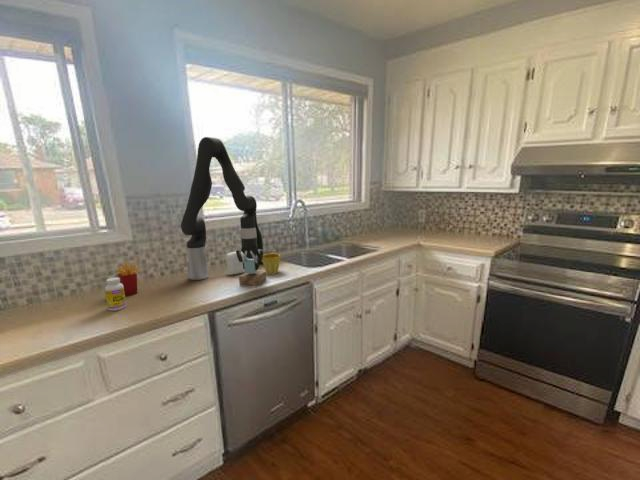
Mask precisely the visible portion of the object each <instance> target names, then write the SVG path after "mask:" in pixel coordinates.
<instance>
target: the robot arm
mask: <svg viewBox="0 0 640 480" xmlns="http://www.w3.org/2000/svg"><path fill="white" fill-rule="evenodd" d="M196 156H197V157H196V164H195V168H194V169H195V170H194V173H193V179H192V183H191V187H190V191H189V197H188V200H187V204H186V208H185V210H184V214H183V216H182V219H181V223H180V228H181V229H180V230H181V232H182V233H183V235H185V236H191V237H190V238H189V240H188V241H186V251H187V258H188V260H187V261H186V266H187V275H188V279H189V280H193V281H199V280H205V279H207V278H209V269H208V260H207V251H206V241H207V232H206V231H207V230H206V229H207V227H206V223H205V222H206V221H205V220H204V218H203V217H202V216H199V212H200V211H201V209H202V208H203V206H204V205H205V203H207V201H208V199H209V197H210V195H211V191H212V187H213V186H212V185H213V181H212V176H211V173H210V166H211V163H212V159H213V158H215V160H216V161H217V162H218V163H219V165H220V167H221V170H222V171H221V172H222V177H223V180H224V182H225V185H226V186H227V188H228V190H229V191H230V192H231V196H232V198H233V202H234V204H235V206H236V208H237V209H238V210H240V211H241V212H243V215H242V216H241V217H240V220H239V221H240V239H241V241H240V242H241V248H240V249H237V250H236V251H235V252H236V254H237V257H238V260H239V262H242V263H243V269H244V270H245V268H244V261H245V260H247V257H253V259H254V261H255V270H257V271H259V270H258V269H259V268H260V264H259V262H261V261H262V258H263V252H264V253H265V250H263V249H262V250H260V249H258V247H257V234H256V228H255V215H256V216H257V207H258V206H257V200H256V198H255V197H254V196H253V195H246V194H245V192H244V191H245V189H246V187H245V185H244V183H243V181H242V180H241V178H240V176H239V174H238V173H237V171H236V170H235V167H234V165H233V163H232V161H231V158H230V156H229V154H228V151H227V148H226V146H225V144H224V142H223V141H222V140H221V139H220V138H217V137H210V136H205V137H202V138H201V139H200V141H199V143H198V148H197V154H196ZM241 252H242V253H243V254H244V257H243V259H242V256H241ZM257 252H259V254H260V255H259V259H258V258H257V254H256V253H257Z"/></svg>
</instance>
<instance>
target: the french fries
mask: <svg viewBox="0 0 640 480" xmlns="http://www.w3.org/2000/svg"><path fill="white" fill-rule="evenodd" d="M136 267H137V268H136ZM135 268H136V269H135ZM140 268H141V265H138V266H137V264H135V263H134V262H131V263H130V264H129V263H128V262H125V263H123V264H122V265H119V266H118V269H117V270H116V272H118V273H117V277H118V278H120V283H121V284H123V286H124V293H125V297H128V296H132V295H137V294H138V274H137V272H138V271H139V269H140Z"/></svg>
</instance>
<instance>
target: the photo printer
mask: <svg viewBox="0 0 640 480" xmlns="http://www.w3.org/2000/svg"><path fill="white" fill-rule="evenodd" d="M241 256H242V259H243V257H244V254H243V253H242V251H241ZM225 258H226V273H227V275H228V276H231V275H238V274H244V273H245V270H244V269H243V263H242V262H239V260H238V257H237V254H236V251H232V252H229V253H227V254H226V257H225Z"/></svg>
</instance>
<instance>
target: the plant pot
mask: <svg viewBox="0 0 640 480" xmlns="http://www.w3.org/2000/svg"><path fill="white" fill-rule="evenodd" d="M280 263H281V254H279V253H264V255H263V258H262V263H261V264H263V267H264V272H266V275H275V274H277V273H278V272H279V267H280Z"/></svg>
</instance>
